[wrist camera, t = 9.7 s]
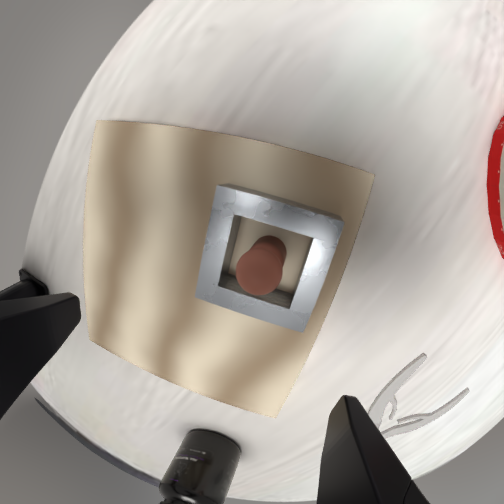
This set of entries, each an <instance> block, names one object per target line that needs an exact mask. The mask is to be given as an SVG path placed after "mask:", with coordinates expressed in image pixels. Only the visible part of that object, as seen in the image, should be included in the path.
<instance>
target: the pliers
mask: <svg viewBox="0 0 504 504" xmlns="http://www.w3.org/2000/svg"><path fill="white" fill-rule="evenodd" d="M426 359H427V356H426V355H425V354H424V353H422V354H421V355H420V356H418V357H417V358H416V359H414V360H413V361H412V362H411V363H409V364H408V365H407V366H406V367H404V368H403V369H402V370H401V371H400V372H399V373H398V374H397V375H396V376H395V377H394V378H393V379H392V380H391V381H390V382H389V383H388V384H387V385H386V386H385V387H384V389H383V390H382V391H381V392H380V394H379V395H378V396H377V397H376V399H375V400H374V402H373V403H372V405H371V407H370V409H369V411H368V415H369V416H370V418H371V419H372V421H373V422H374V424H375V425H376V427H377V428H378V429H379V426H380V424H381V420H382V416H383V413H384V410H385V407H386V406H387V404H388V403H389V401H390V402H391V403H392V405H393V409H392V412H391V414H390V416H389V420H392V418H393V417H394V415H395V412H396V410H397V403H396V400H395V393H396V392H397V391H398V390H399V388H400V387H401V386H402V385H403V384H404V382H405V381H406V380H407V379H408V378H409V377H410V376H411V375H412V374H413V373H414V372H415V370H416V369H417V368H418V367H419V366H420V365H421V364H422V363H423V362H424V361H425V360H426ZM468 392H469V389H468V388H466V389H465V390H463V391H462V392H461V393H460V394H459V395H457V396H456V397H455V398H453V399H452V400H451V401H449V402H448V403H446V404H445V405H443V406H442V407H440V408H439V409H437V410H435V411H434V412H432V413H428V414H415V415H410V416H407V417H404V418H401V419H398V420H397V421H398V424H399V423H402V422H404V421H408V420H412V419H418V420H415V421H412V422H409V423H405V424H401V425H397V426H393V427H391V428H389V429H387V430H385V431H383V432H381V434H382V435H383V437H384V438H388V437H391V436H394V435H399V434H403V433H407V432H410V431H413V430H416V429H418V428H420V427H422V426H424V425H426V424H428V423H430V422H432V421H434V420H435V419H437V418H439V417H440V416H442V415H443V414H445V413H446V412H447V411H449V410H450V409H451V408H453V407H454V406H455V405H456V404H457V403H458V402H459V401H461V400H462V399H463V398H464V397H465V396H466V394H467V393H468Z"/></svg>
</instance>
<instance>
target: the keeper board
mask: <svg viewBox="0 0 504 504" xmlns="http://www.w3.org/2000/svg"><path fill="white" fill-rule="evenodd" d="M374 177H375V175H374V174H372V173H369V172H366V171H363V170H360V169H357V168H354V167H351V166H348V165H345V164H342V163H339V162H336V161H333V160H330V159H326V158H323V157H320V156H316V155H313V154H309V153H306V152H302V151H298V150H294V149H291V148H287V147H283V146H279V145H275V144H270V143H266V142H262V141H257V140H253V139H248V138H243V137H238V136H233V135H228V134H222V133H217V132H211V131H205V130H198V129H191V128H184V127H177V126H168V125H159V124H149V123H138V122H124V121H104V120H97V121H96V125H95V130H94V136H93V141H92V147H91V153H90V160H89V167H88V175H87V183H86V194H85V206H84V225H83V273H84V292H85V305H86V315H87V324H88V332H89V339H90V340H91V341H92V342H94V343H96V344H97V345H99V346H101V347H103V348H104V349H106V350H108V351H110V352H111V353H113V354H115V355H117V356H119V357H120V358H122V359H124V360H126V361H128V362H130V363H132V364H134V365H136V366H138V367H140V368H142V369H144V370H146V371H148V372H150V373H152V374H154V375H156V376H158V377H160V378H163V379H165V380H167V381H169V382H172V383H174V384H176V385H179V386H181V387H183V388H186V389H188V390H191V391H193V392H196V393H198V394H201V395H204V396H206V397H209V398H212V399H214V400H217V401H220V402H223V403H226V404H229V405H232V406H235V407H238V408H241V409H244V410H247V411H251V412H254V413H258V414H261V415H265V416H268V417H272V418H276V417H277V415H278V413H279V412H280V410H281V408H282V406H283V404H284V403H285V401H286V399H287V397H288V395H289V393H290V391H291V389H292V387H293V385H294V384H295V382H296V380H297V378H298V376H299V374H300V372H301V370H302V368H303V366H304V364H305V361H306V359H307V357H308V355H309V353H310V351H311V349H312V347H313V344H314V342H315V340H316V338H317V336H318V333H319V331H320V329H321V327H322V324H323V322H324V320H325V318H326V315H327V313H328V310H329V308H330V306H331V303H332V301H333V298H334V296H335V293H336V291H337V288H338V286H339V283H340V281H341V278H342V275H343V273H344V270H345V267H346V265H347V262H348V259H349V257H350V254H351V251H352V248H353V245H354V242H355V239H356V236H357V233H358V230H359V227H360V224H361V221H362V218H363V215H364V212H365V208H366V205H367V202H368V198H369V195H370V192H371V188H372V185H373V181H374ZM227 183H230V184H234V185H237V186H241V187H245V188H249V189H253V190H256V191H260V192H264V193H267V194H271V195H274V196H278V197H281V198H285V199H288V200H292V201H295V202H298V203H302V204H305V205H308V206H311V207H315V208H318V209H321V210H324V211H327V212H330V213H333V214H336V215H339V216H341V217H342V219H343V220H344V222H345V223H344V226H343V229H342V232H341V235H340V238H339V241H338V244H337V247H336V250H335V253H334V256H333V258H332V261H331V264H330V267H329V269H328V272H327V275H326V277H325V280H324V283H323V285H322V288H321V291H320V293H319V296H318V298H317V301H316V303H315V306H314V308H313V311H312V313H311V316H310V318H309V320H308V323H307V325H306V328H305V330H304V332H303V333H302V332H298V331H295V330H291V329H288V328H285V327H282V326H278V325H275V324H272V323H269V322H265V321H262V320H259V319H256V318H253V317H250V316H247V315H244V314H241V313H238V312H235V311H232V310H229V309H226V308H223V307H221V306H218V305H215V304H212V303H209V302H207V301H204V300H201V299H198V298H196V297H195V293H196V287H197V281H198V276H199V270H200V265H201V259H202V254H203V249H204V244H205V239H206V234H207V229H208V224H209V219H210V215H211V210H212V205H213V201H214V196H215V192H216V187H217V185H220V184H227ZM310 239H311V237H309V236H306V235H303V234H299V233H296V232H293V231H290V230H286V229H283V228H280V227H276V226H273V225H270V224H266V223H263V222H259V221H256V220H253V219H249V218H246V217H241V222H240V226H239V230H238V234H237V238H236V242H235V246H234V251H233V255H232V259H231V263H230V268H229V272H228V273H229V274H232V275H235V276H236V278H237V281H238V283H239V285H240V286H241V287H242V288H243V289H244V290H245V291H246V292H248V293H250V294H253V295H265V294H268V293H270V292H272V291H273V290H274V289H279V290H282V291H285V292H289V293H293V290H294V287H295V285H296V282H297V279H298V276H299V273H300V270H301V267H302V264H303V261H304V258H305V255H306V252H307V249H308V246H309V243H310Z"/></svg>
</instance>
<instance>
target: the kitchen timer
mask: <svg viewBox="0 0 504 504" xmlns="http://www.w3.org/2000/svg"><path fill="white" fill-rule="evenodd" d="M487 194H488V210H489V216H490V221H491V226H492V230H493V236H494V239H495V241H496V244H497V246H498V248H499V251H500V253H501V256H502V258H503V259H504V116H503V117H502V118H501V120H500V122H499V124H498V126H497V128H496V130H495V132H494V134H493V139H492V144H491V148H490V152H489V156H488V174H487Z"/></svg>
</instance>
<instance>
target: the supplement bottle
mask: <svg viewBox="0 0 504 504" xmlns="http://www.w3.org/2000/svg"><path fill="white" fill-rule="evenodd" d="M240 455H241V453H240V450H239V448H238V446H237V445H236V444H235V443H234V442H232V441H231V440H230V439H228V438H226V437H224V436H222V435H220V434H217V433H214V432H210V431H204V430H196V431H192V432H190V433H188V434H187V435H186V437H185V438H184V440H183V442H182V444H181V446H180V447H179V449H178V451H177V453H176V455H175V457H174V458H173V460H172V462H171V464H170V466H169V468H168V469H167V471H166V473H165V475H164V477H163V478H162V480H161V482H160V484H159V491H160V493H161V495H162V496H163V498H164V499H165V500H164V501H161V502H160V503H159V504H223V503H224V501H225V498H226V496H227V493H228V490H229V488H230V485H231V482H232V479H233V477H234V474H235V471H236V468H237V465H238V462H239V459H240Z"/></svg>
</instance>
